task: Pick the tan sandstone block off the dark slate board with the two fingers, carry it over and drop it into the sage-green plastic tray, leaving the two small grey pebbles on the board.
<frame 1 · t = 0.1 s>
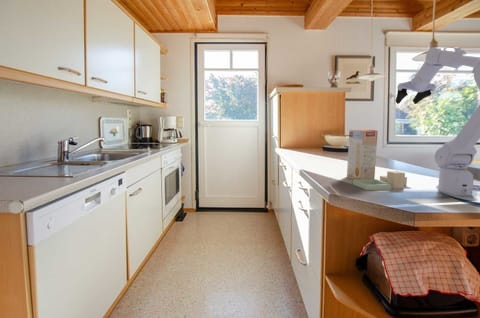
hand: (405, 102, 129), 32 cm above the countertop, tool tilted 50°, fingers open, 7 cm apart
slate board: (395, 188, 114), on the countertop
sandstone block: (395, 187, 112), point 1 cm above the countertop, touching slate board
grey pebble 1: (399, 184, 116), point 1 cm above the countertop, touching slate board
cracker box: (359, 182, 125), on the countertop
sage tray: (371, 188, 113), on the countertop
grey pebble 2: (385, 184, 116), point 1 cm above the countertop, touching slate board
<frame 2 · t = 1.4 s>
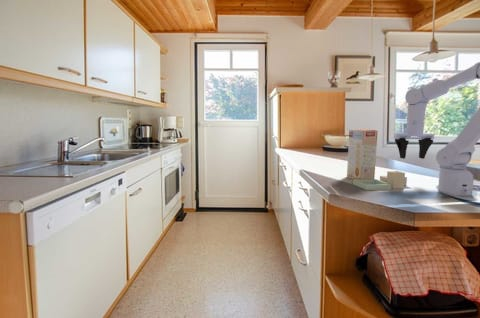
hand: (412, 158, 118), 10 cm above the countertop, tool pointing down, fingers open, 7 cm apart
nothing on the countertop moved.
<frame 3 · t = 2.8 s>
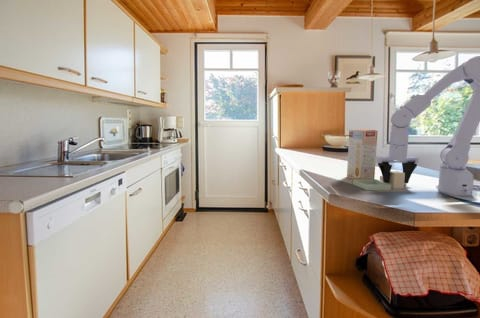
hand: (395, 182, 112), 2 cm above the countertop, tool pointing down, fingers open, 7 cm apart
nothing on the countertop moved.
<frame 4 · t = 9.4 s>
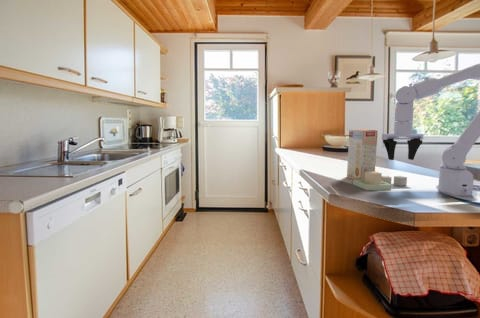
hand: (400, 159, 113), 10 cm above the countertop, tool pointing down, fingers open, 7 cm apart
sandstone block: (372, 187, 112), point 1 cm above the countertop, touching sage tray
everything else where it was.
at the end: sandstone block inside the target area on the sage tray (0.7 cm from its centre), point 0.6 cm above the sage tray's base; the gripper is holding nothing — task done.
